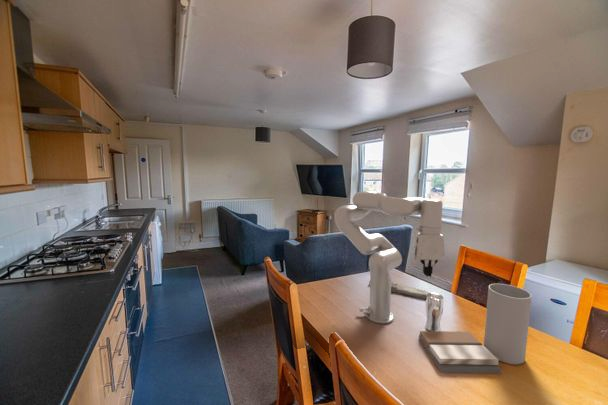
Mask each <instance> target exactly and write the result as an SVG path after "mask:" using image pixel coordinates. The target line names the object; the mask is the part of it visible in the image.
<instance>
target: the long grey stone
mask: <svg viewBox="0 0 608 405" xmlns="http://www.w3.org/2000/svg"><path fill="white" fill-rule="evenodd" d="M368 284H370V281H369V282H368ZM391 293H395V294H398V293H399V294H401V295H405V296H408V297H409V296H410V297H413V298H417V299H423V300H426V296H427V293H430V292H428V291H427V290H424V289H419V288H415V287H412V286H407V285H403V284H401V283H398V282H395V281H391Z"/></svg>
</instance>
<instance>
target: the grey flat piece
mask: <svg viewBox="0 0 608 405" xmlns="http://www.w3.org/2000/svg"><path fill="white" fill-rule="evenodd" d="M418 339H419V341H420V342H421V343H422V345H423V346H424V348H425V349H426V351H427V352H428V354H429V355H430V356H431V359H432V360H433V362H434V363H435V365H436V366H437V368H438V369H439V370H440V372H441V373H442V374H444V373H445V374H446V373H447V374H448V373H450V374H454V373H455V374H502V368H501V367H500V366H499V364H498V365H468V364H440V363H439V362H438V361H437V359H436V358H435V357H434V355H433V354H432V353H431V351H430V345H483V344H482V342H481V341H480V340H478V338H477V337H475V336H474V334H472V332H470V331H447V330H446V331H445V330H444V331H442V330H441V331H429V330H425V331H424V330H421V331H419V335H418Z"/></svg>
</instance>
